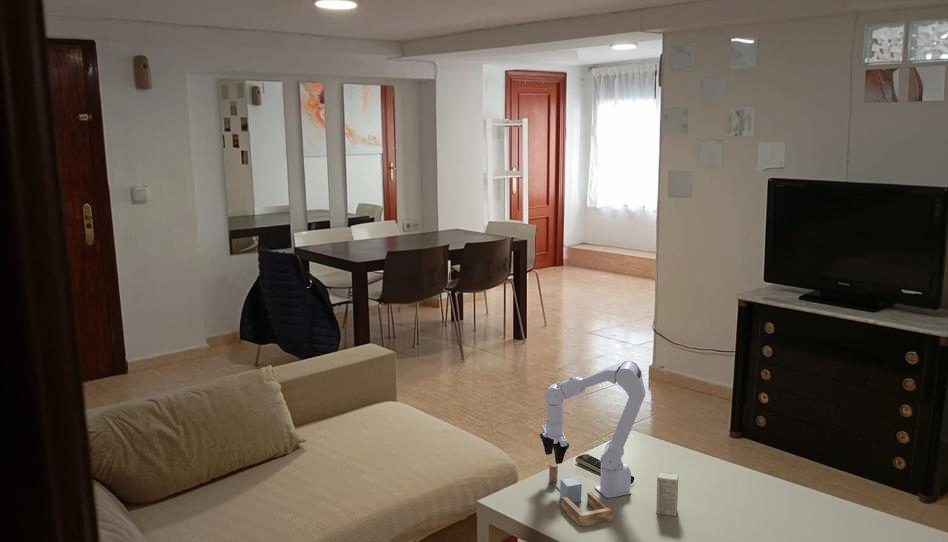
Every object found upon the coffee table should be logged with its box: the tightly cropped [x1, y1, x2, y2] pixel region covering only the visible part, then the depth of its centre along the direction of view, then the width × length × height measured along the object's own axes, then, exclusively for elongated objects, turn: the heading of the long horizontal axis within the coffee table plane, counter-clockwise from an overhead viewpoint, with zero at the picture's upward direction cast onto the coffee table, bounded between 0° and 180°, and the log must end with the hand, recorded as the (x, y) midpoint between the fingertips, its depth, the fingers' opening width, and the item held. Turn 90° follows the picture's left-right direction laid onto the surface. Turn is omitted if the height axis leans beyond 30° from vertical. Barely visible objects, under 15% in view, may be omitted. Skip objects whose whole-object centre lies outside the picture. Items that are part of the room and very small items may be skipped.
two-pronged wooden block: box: [560, 491, 614, 527], centre depth 236 cm, size 11×13×4 cm
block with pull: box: [548, 463, 583, 504], centre depth 251 cm, size 5×16×6 cm, turn 21°
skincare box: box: [655, 471, 679, 517], centre depth 237 cm, size 6×4×12 cm
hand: (553, 458), depth 256 cm, fingers open, 7 cm apart
